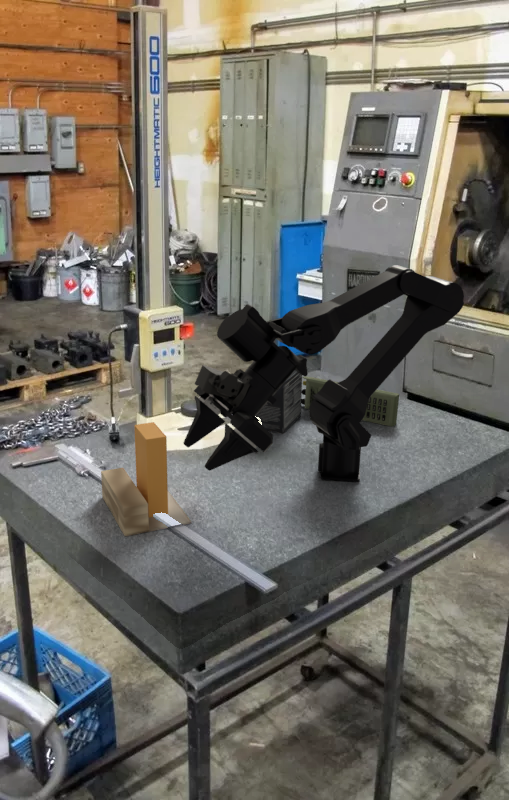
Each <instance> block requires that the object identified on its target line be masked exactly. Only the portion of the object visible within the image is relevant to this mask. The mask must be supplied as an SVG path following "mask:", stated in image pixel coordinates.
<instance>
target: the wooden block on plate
mask: <svg viewBox="0 0 509 800" xmlns="http://www.w3.org/2000/svg"><path fill="white" fill-rule="evenodd" d="M100 476H101V477H100V478H101V480H100V481H101V495H102V496H101V497H102V499H103V501H104V502H105V505H106V506H107V507H108V508H107V509H109V511H110V513H111V515H112V516H113V518H114V520H115V522H116V524H117V526H118V527H119V529H120V531H121V532H122V534H123V536H124V537H129V536H135V535H139V534H144V533H149V532H154V531H160V530H164V529H165V530H166V529H169V528H168V527H167V526H166V525H165V524H163V523H162V522H160V521H158V520H156V519H155V518H154V517H148V503H147V502H146V500H145V499H144V497H143V496H142V494H141V493H140V491H139V490H138V488H137V484H135V482H134V481H133V480H132V478H131V476H130V475H129V473H127V471H126V469H125V467H117V468H112V469H106V470H101V471H100ZM168 515H169V516H170V517H172V518H173V519H175V520H176V521H178V522H179V523H181V524H183V525H182V526H185V525H189V524H193V523H192V520H191V519H190V518H189V516H188V515H187V513H186V512H185V511H184V509H183V508H182V507H181V505H180V504H179V503H178V502H177V500H176V498H175V497H174V496H173V494H171V492H170V491H169V490H168Z"/></svg>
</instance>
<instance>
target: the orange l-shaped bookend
mask: <svg viewBox="0 0 509 800" xmlns="http://www.w3.org/2000/svg"><path fill="white" fill-rule="evenodd" d="M133 427H134V429H133V430H134V450H135V455H134V456H135V474H136V476H135V477H136V481H135V482H136V487H137V488H138V490H139V491H140V493H141V494H142V496H143V497H144V499H145V500H146V502H147V503H148V517H153V514H155V513H161V512H162V513H166V514H168V491H169V490H168V454H167V453H168V452H167V451H168V448H167V447H168V445H167V442H168V441H167V435H166V434H165V433H164V432H163V431H162V430H161V428H160V427H158V425H157V424H156V423H155V422H153V421H152V422H147V423H140V424H139V423H137V424H134V426H133Z"/></svg>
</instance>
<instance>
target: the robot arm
mask: <svg viewBox="0 0 509 800" xmlns="http://www.w3.org/2000/svg"><path fill="white" fill-rule="evenodd" d="M464 293H465V292H464V290H463V288H462V286H461V285H460V283H459V284H458V283H457V282H454V281H451V280H446V279H443V278H439V277H436V276H433V275H426V276H424V275H422V274H420V273H418V272H416V271H415V270H413V269H411V268H408V267H405V266H401V265H399V264H398V265H397V264H394V265H392V266H389V267H387V268H386V269H385V270H384V271H382V272H381V273H379V274H377V275H375V276H373V277H372V278H370V279H368V280H366V281H364V282H362V283H360V284H358V285H356V286H354V287H352V288H351V289H349V290H347V291H345V292H343V293H341V294H339V295H338V296H336V297H333V298H332V299H330V300H327V301H324V302H319V303H313V304H307V305H304V306H300V307H298V308H293V309H292V310H289V311H288V312H286V313H285V314H284V315H283V316H282V317H279V318H275V319H271V320H268V321H267V320H266V319H265V318H263V316H262V315H261V313H259V310H257V309H256V308H255V307H254V306H253V305H251V304H249V303H247V304H246V305H244V307H243V308H242V309H238V310H236V311H234V312H233V313H231V314H230V315H229V316H226V317H225V318H224V319H223V320H222V322H221V323H220V325H219V326H218V329H217V332H216V337H217V339H219V340H220V342H222V343H223V344H224V345H225V346H226V347H227V348H229V349H230V351H232V352H233V353H234V354H235V355H236V356H237V357H238V358H239V359H240V360H241V361H243V362H245V363H247V362H249V363H250V362H252V363H251V364H250V365H249V366H248V367H247V368H246V370H242V369H241V368H240V369H236V370H235V371H234V373H229V372H228V371H227V370H224V371H222V370H220V369H217V368H215V367H211V366H208V365H206V364H202V365H201V368H200V370H199V372H198V374H197V378H196V380H195V382H194V385H195V386H197V387H195V388H194V390H193V392H195V394H197V395H198V396H199V397H197V396H196V395H194V400H195V405H196V412H195V415H194V418H193V420H192V422H191V424H190V426H189V429H188V431H187V434H186V436H185V438H184V439H183V445H184V446H185V447H187V448H190V447H192V446H193V445H195V444H197V443H198V442H199V441H201V440H203V439H204V438H205V437H206V436H208V435H210V433H212V432H213V431H214V430H217V429H218V427H220V426H222V425H223V424H224V437H223V438H222V440H221V441H220V443H219V444H218V445H217V447H216V448H215V449H214V451H213V453H212V454H211V455H210V456H209V458H208V459H207V461H206V463H205V464H204V469H206V470H207V471H209V472H210V471H212V470H216V469H217V468H220V467H222V466H224V465H226V464H229V463H230V462H232V461H235V460H237V459H240V458H243V457H245V456H248V455H250V454H253V453H255V454H258V453H259V452H260V451H259V450H261V451H262V452H263V453H266V451H268V449H269V448H270V447H271V446H272V445H273V443H274V435H273V433H271V431H268V430H267V429H265V428H264V427H263V426H262V425H261V424H260V423H259V422H258V421H259V420H258V419H257V418H256V417H255V416H256V415H257V414H258V413H259V411H260V410H261V409H262V408H263V407H264V406H265V404H266V403H267V402H269V403H271V404H272V405H273V404H274V402H275V401H276V399H275V398H274V397H273V395H274V394H275V393H276V392H277V390H278V389H279V388H280V387H281V386H282V385H283V383H284V382H285V381H286V380H287V379H288V378H289V377H290V375H291V374H292V373H293V372H294V371H297V372H298V373H300V374H301V375H302V377H305V376H306V377H308V372H309V371H308V366H307V362H308V358H306V357H305V356H303V355H301V354H299V355H296V353H294V352H293V351H292V350H291V349H290V347H291V348H294V349H296V350H298V351H300V352H301V353H303V354H305V355H309V356H310V355H316V354H318V353H319V352H321V351H322V350H323V349H325V348H326V347H327V346H329V344H332V342H334V341H335V340H336V338H337V337H338V336H339V334H340V332H341V331H342V330H343V329H344V328H346V327H347V326H349V325H350V324H352V323H354V322H356V321H358V320H360V319H362V318H363V317H365V316H366V315H369V314H371V313H372V312H374V311H376V310H378V309H379V308H382V307H384V306H386V305H387V304H389V303H391V302H393V301H395V300H397V299H398V298H400V297H401V296H406V297H405V299H406V300H405V303H404V308H403V313H402V315H401V316H400V317H399V318H398V319H397V320H396V321H395V323H394V324H393V325H391V327H390V328H389V330H388V331H387V332H386V333H385V334H384V335H383V336H382V338H380V340H379V341H378V342H377V343H376V344H375V346H373V348H372V349H371V350H370V351H369V352H368V353H367V355H366V356H365V357H364V358H363V359H362V360H361V362H360V363H358V364H357V366H356V367H355V368H354V369H353V371H351V373H350V374H349V375H348V376H347V377H346V378H345V379H343V380H341V381H339V382H338V381H337V382H338V383H335V382H336V381H335V382H334V380H332V379H327V380H328V381H327V382H326V383H325V384H324V385H323V387H322V388H321V390H320V391H319V392H318V393H316V394H315V395H313V396H312V397H313V398H314V400H313V401H312V403H311V404H310V407H309V409H308V413H309V415H308V416H309V420H310V421H311V422H312V424H313V425H315V427H316V430H317V432H318V433H320V434H321V435H322V436H323V437H322V442H320V443H319V445H318V447H319V448H318V462H317V463H318V465H317V470H318V472H320V479H321V480H325V481H326V480H327V481H328V480H329V481H330V480H331V481H343V482H345V481H347V482H360V481H361V471H360V467H361V453H362V452H361V451H362V448H364V447H367V446H368V445H369V442H370V440H371V437H372V433H370V432H369V431H368V429H366V428H365V427H364V426H363V425H362V424H361V423H362V422H363V421H362V419H363V418H364V416H365V413H366V409H367V404H368V400H369V398H370V397H371V395H372V394H373V393H374V392H375V391H376V390H379V388H380V387H381V385H382V384H383V383H384V382H385V381H386V380H387V379H388V377H389V376H390V375H391V374H392V372H394V370H395V369H396V368H397V367H398V366H399V365H400V364H401V363H402V361H403V360H404V359H405V358H406V356H408V354H409V353H410V352H411V351H412V350H413V349H414V348H415V346H416V345H417V344H418V343H419V342H420V341H421V340H422V338H423V337H424V336H425V335H427V333H430V332H432V331H433V330H436V329H438V328H441V327H442V326H445V325H446V324H448V322H449V321H451V320H452V319H453V318H454V317H455V316H456V315H458V314H459V313H460V311H461V310H462V308H463V306H464V305H465V301H464V299H465V296H464V295H465V294H464ZM276 340H277V341H278V342H280V343H282V344H283V345H279V346H278V344H276V343H275V342H274V341H276ZM220 415H221V416H222V417H223V418H229V419H230V422H229V423H230V425H231V426H232V427H234V428H232V427H231V426H230V425H229V424H227V423H226V420H225V419H223V418H222V417H221V416H220ZM257 448H258V449H259V450H258V449H257Z"/></svg>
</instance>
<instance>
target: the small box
mask: <svg viewBox="0 0 509 800" xmlns="http://www.w3.org/2000/svg"><path fill="white" fill-rule="evenodd" d="M302 377H303V375H301V374H300V373H298V372H297V371H294V372H293V373H292V374H291V375H290V377H289V378H288V379H287V380H286V381H285V382H284V383H283V385H282V386H281V387H280V388H279V389H278V390H277V392H276V393H275V394H274V395H273V397H274V398H275V399H276V401H275V402H274V404H273V405H272V404H271V403H269V402H267V403H266V404H265V406H264V407H263V408H262V409H261V410H260V411H259V413H258V414H257V415H256V417H259V418H260V419H261V422H262V426H263V427H264V428H265V429H267V430H268V431H269V432H272V433H273V432H274V433H279V434H284V433H285V432H287V430H288V429H289V428H291V426H292V425H293V424H294V423H295V422H296V421H297V420H298V419H299V418H300V417H301V416H302V403H301V399H302V395H303V394H302V390H303V378H302Z"/></svg>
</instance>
